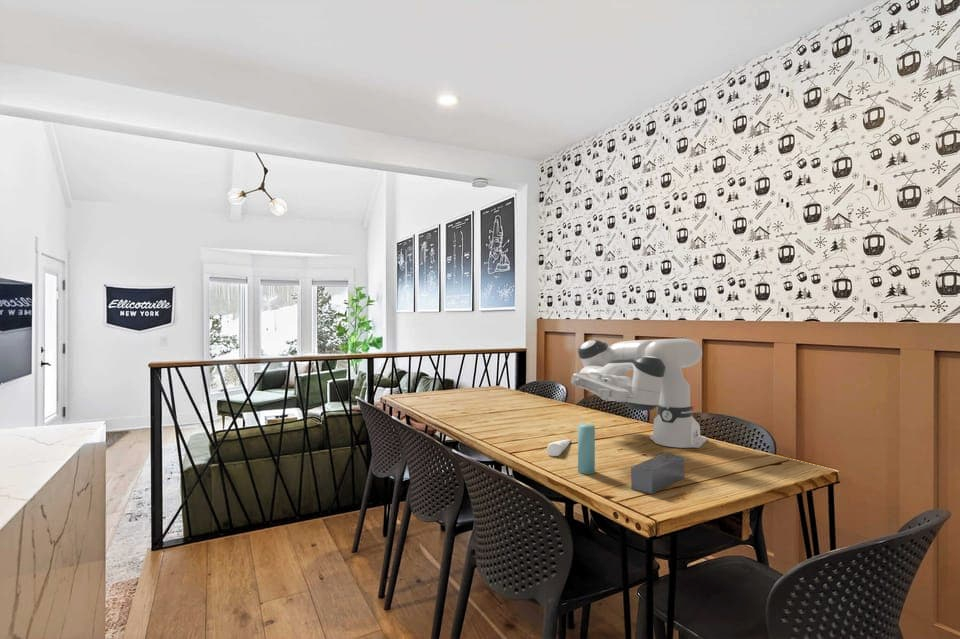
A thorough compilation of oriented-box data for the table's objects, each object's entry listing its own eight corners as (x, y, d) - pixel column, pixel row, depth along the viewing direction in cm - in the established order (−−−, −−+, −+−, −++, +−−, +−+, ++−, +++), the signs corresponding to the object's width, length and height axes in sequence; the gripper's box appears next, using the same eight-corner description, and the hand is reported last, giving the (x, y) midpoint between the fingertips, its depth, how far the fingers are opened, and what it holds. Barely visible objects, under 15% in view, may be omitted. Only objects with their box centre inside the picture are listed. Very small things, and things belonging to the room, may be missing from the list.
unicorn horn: (580, 442, 185) (580, 429, 185) (559, 458, 164) (559, 444, 164) (568, 441, 187) (567, 428, 187) (546, 456, 166) (546, 442, 166)
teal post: (584, 468, 152) (584, 423, 152) (598, 471, 148) (597, 425, 148) (574, 471, 149) (574, 425, 149) (588, 475, 145) (588, 428, 145)
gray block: (664, 472, 148) (664, 452, 148) (684, 477, 143) (684, 456, 143) (631, 488, 134) (631, 467, 134) (652, 494, 129) (652, 471, 129)
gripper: (633, 406, 160) (610, 407, 150) (583, 387, 175) (559, 386, 166) (638, 388, 159) (615, 387, 150) (588, 370, 174) (564, 368, 165)
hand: (585, 386), depth 158 cm, fingers open, 8 cm apart
